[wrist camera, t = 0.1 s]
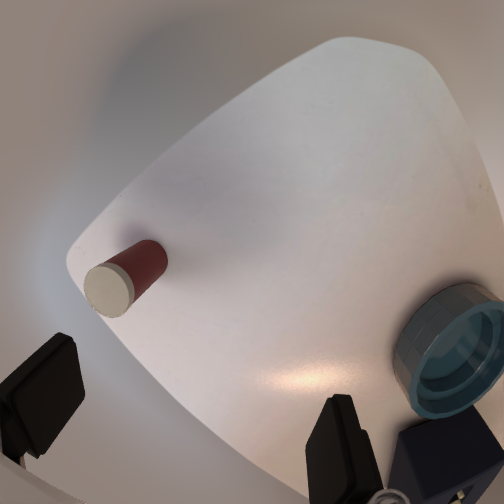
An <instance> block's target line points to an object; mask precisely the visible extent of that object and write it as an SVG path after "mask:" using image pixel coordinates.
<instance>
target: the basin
mask: <svg viewBox="0 0 504 504" xmlns="http://www.w3.org/2000/svg"><path fill="white" fill-rule="evenodd" d="M393 367H394V371H395V375H396V378H397V381H398V383H399V385H400V387H401V389H402V391H403V393H404V394H405V396H406V398H407V400H408V402H409V404H410V406H411V408H412V409H413V410H414V411H415V412H416V413H417V414H418V415H419V416H421V417H424V418H428V419H439V418H447V417H449V416H452V415H455V414H457V413H460V412H462V411H463V410H465V409H467V408H468V407H470V406H471V405H473V404H474V403H476V402H477V401H478V400H480V399H481V398H482V397H483V396H484V395H485V394H486V393H487V392H488V391H489V390H490V389H491V388H492V387H493V386H494V384H495V383H496V382H497V381H498V379H499V378H500V377H501V375H502V374H503V372H504V301H502V300H501V299H499V298H498V297H496V296H495V295H493V294H492V293H490V292H489V291H487V290H486V289H484V288H483V287H481V286H479V285H475V284H470V283H464V284H459V285H455V286H450V287H448V288H447V289H445V290H443V291H442V292H440V293H438V294H436V295H435V296H433V297H432V298H431V299H430V300H429V301H428V302H427V303H426V304H424V305H423V306H422V307H421V308H420V309H419V310H418V311H417V313H415V315H414V316H413V317H412V319H411V320H410V322H409V323H408V325H407V326H406V328H405V329H404V330H403V333H402V335H401V338H400V340H399V342H398V345H397V347H396V350H395V358H394V366H393Z"/></svg>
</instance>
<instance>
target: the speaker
mask: <svg viewBox="0 0 504 504" xmlns="http://www.w3.org/2000/svg"><path fill="white" fill-rule="evenodd" d="M503 465H504V450H503V449H502V447H501V445H500V444H499V442H498V441H497V439H496V438H495V436H494V435H493V433H492V432H491V430H490V429H489V427H488V426H487V424H486V423H485V421H484V420H483V418H482V417H481V415H480V414H479V412H478V411H477V410H476V408H475V407H474V405H471V406H470V407H468V408H467V409H465V410H463V411H462V412H460V413H457V414H455V415H452V416H449V417H447V418H439V419H435V420H432V421H430V422H427V423H424V424H422V425H419V426H416V427H413V428H411V429H410V428H409V429H407V430H405V431H402V432H400V433H399V434H398V439H397V445H396V450H395V455H394V460H393V465H392V470H391V474H390V478H389V482H388V486H387V489H396V490H399V491H401V492H402V493H404V494H405V495H406V496H407V497H408V498H409V501H410V503H411V504H475V503H476V502H477V501H478V499H479V498H480V497H481V496H482V494H483V493H484V492H485V490H486V489H487V488H488V486H489V485H490V484H491V483H492V481H493V480H494V478H495V477H496V475H497V474H498V472H499V471H500V470H501V468H502V467H503Z"/></svg>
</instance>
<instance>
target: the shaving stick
mask: <svg viewBox="0 0 504 504" xmlns="http://www.w3.org/2000/svg"><path fill="white" fill-rule="evenodd" d="M166 268H167V255H166V252H165V250H164V249H163V248H162V246H161V245H159V244H158V243H157V242H155V241H152V240H143V241H140V242H138V243H137V244H135V245H133V246H131V247H129V248H128V249H126V250H124V251H122V252H121V253H119V254H117V255H116V256H114V257H112V258H110V259H109V260H107V261H105V262H104V263H101V264H99V265H97V266H95V267H94V268H92V269H91V270H90V271H89V272H88V273H87V275H86V277H85V280H84V291H85V295H86V298H87V300H88V302H89V303H90V305H91V306H92V307H93V308H94V309H95V310H96V311H97V312H98V313H100V314H101V315H103V316H106V317H110V318H115V317H119V316H121V315H123V314H124V313H125V312H126V311H127V310H128V309H129V308H130V307H131V305H132V304H133V303H134V302H135V301H136V300H137V299H138V298H139V297H140V296H141V295H142V294H143V293H144V292H145V291H146V290H147V289H148V288H149V287H150V286H151V285H152V284H153V283H154V282H155V281H156V280H157V279H158V278H159V277H160V276H161V275H162V274H163V273H164V272H165V270H166Z"/></svg>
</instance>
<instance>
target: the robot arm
mask: <svg viewBox="0 0 504 504" xmlns="http://www.w3.org/2000/svg"><path fill="white" fill-rule="evenodd" d="M84 397H85V390H84V385H83V381H82V376H81V371H80V365H79V359H78V353H77V347H76V343H75V342H74V341H73V338H72V337H70V336H68V335H65V334H63V333H60V332H58V333H57V334H55V335H54V336H53V337H52V338H51V339H49V340H48V341H47V342H46V343H45V344H44V345H42V346H41V347H40V348H39V349H38V350H37V351H36V352H34V353H33V354H32V355H31V356H30V357H29V358H28V359H27V360H26V361H24V362H23V363H22V364H21V365H20V366H19V367H18V368H17V369H16V370H14V371H13V372H12V373H11V374H10V375H9V376H8V377H7V378H6V379H5V380H4V381H3V382H2V383H1V384H0V504H88V503H85V502H83V501H81V500H79V499H77V498H75V497H73V496H71V495H69V494H67V493H65V492H63V491H61V490H59V489H57V488H56V487H54V486H52V485H50V484H49V483H47V482H45V481H43V480H42V479H40V478H38V477H37V476H35V475H33V474H32V473H30V472H29V471H27V470H26V467H25V461H24V454H25V453H26V452H27V453H28V454H30V455H32V456H33V457H35V458H36V459H38V458H39V456H40V455H43V454H45V453H46V451H47V450H48V449H49V447H50V446H51V444H52V443H53V442H54V440H55V439H56V437H57V436H58V434H59V433H60V431H61V430H62V429H63V427H64V426H65V425H66V423H67V422H68V421H69V419H70V418H71V416H72V415H73V414H74V412H75V411H76V409H77V408H78V407H79V405H80V404H81V403H82V401H83V400H84ZM305 452H306V463H307V475H308V488H309V500H310V501H309V502H310V504H411V503H410V501H409V498H408V497H407V496H406V495H405V494H404V493H402V492H401V491H399V490H396V489H384V487H383V484H382V480H381V477H380V473H379V470H378V466H377V463H376V459H375V456H374V452H373V449H372V446H371V443H370V439H369V436H368V433H367V431H366V430H364V429H361V427H360V424H359V420H358V417H357V414H356V410H355V407H354V404H353V401H352V398H351V396H350V395H344V394H334V395H333V396H332V398H327V400H326V403H325V405H324V407H323V409H322V412H321V414H320V416H319V418H318V420H317V422H316V425H315V427H314V429H313V431H312V433H311V435H310V437H309V439H308V441H307V444H306V449H305Z"/></svg>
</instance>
